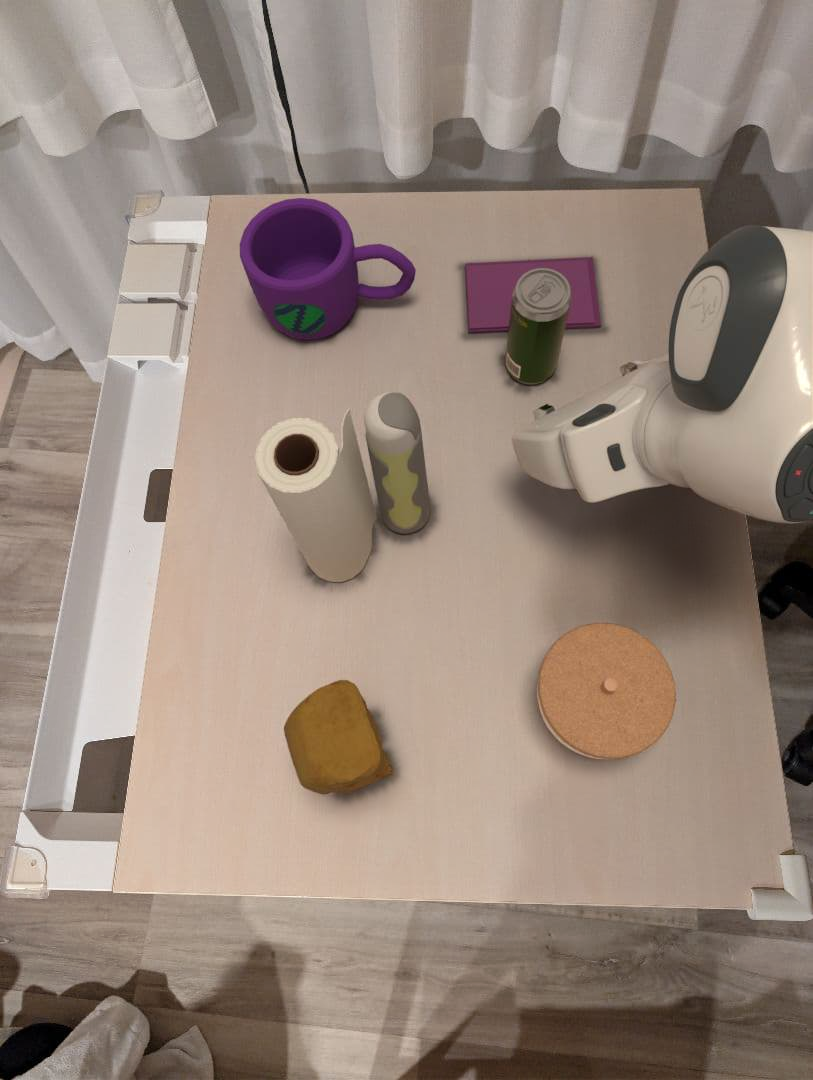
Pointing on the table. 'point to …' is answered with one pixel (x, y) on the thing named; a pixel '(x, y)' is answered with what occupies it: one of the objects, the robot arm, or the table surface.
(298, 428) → the paper towel roll
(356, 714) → the wooden tiki figurine
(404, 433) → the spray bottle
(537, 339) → the beer can
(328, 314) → the mug
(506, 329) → the flat purple rectangular slab
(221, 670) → the table surface
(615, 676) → the trinket box
